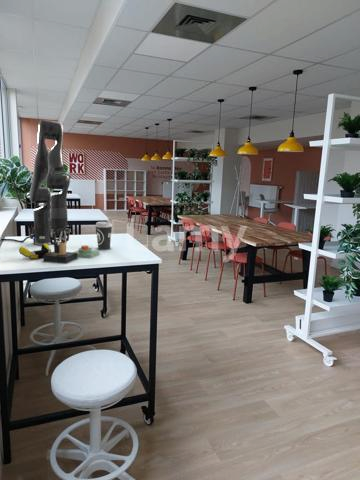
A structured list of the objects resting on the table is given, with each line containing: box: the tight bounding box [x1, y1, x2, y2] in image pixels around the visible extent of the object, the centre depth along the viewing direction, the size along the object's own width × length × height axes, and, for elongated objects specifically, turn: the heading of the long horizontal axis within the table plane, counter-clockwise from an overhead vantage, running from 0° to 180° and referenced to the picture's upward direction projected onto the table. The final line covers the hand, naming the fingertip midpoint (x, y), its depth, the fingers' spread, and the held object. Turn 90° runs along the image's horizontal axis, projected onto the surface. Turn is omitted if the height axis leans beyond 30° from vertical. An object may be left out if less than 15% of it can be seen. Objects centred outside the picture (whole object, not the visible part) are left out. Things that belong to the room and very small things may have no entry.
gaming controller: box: [18, 243, 52, 260], centre depth 170 cm, size 15×6×10 cm
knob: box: [55, 241, 67, 255], centre depth 164 cm, size 5×5×6 cm
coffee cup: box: [94, 221, 113, 251], centre depth 192 cm, size 10×10×15 cm
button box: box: [72, 247, 100, 259], centre depth 176 cm, size 11×9×4 cm
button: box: [80, 244, 90, 250], centre depth 175 cm, size 4×4×2 cm
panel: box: [42, 251, 78, 264], centre depth 165 cm, size 12×10×3 cm
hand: (60, 251), depth 164 cm, fingers closed on knob, 5 cm apart
